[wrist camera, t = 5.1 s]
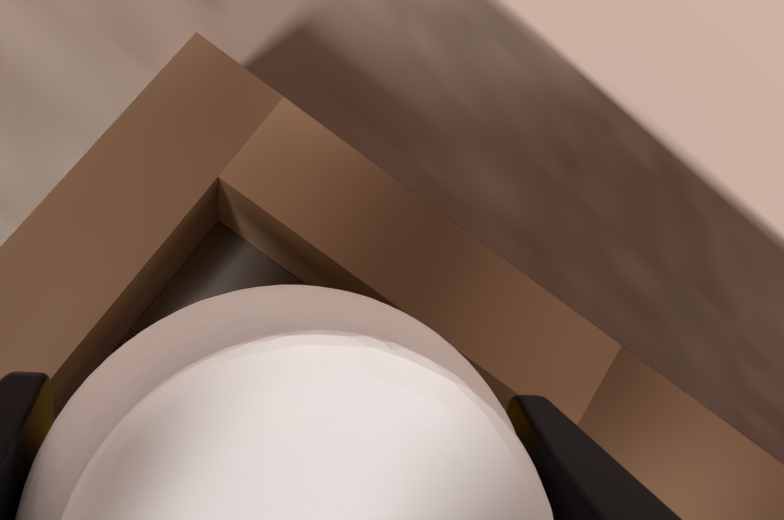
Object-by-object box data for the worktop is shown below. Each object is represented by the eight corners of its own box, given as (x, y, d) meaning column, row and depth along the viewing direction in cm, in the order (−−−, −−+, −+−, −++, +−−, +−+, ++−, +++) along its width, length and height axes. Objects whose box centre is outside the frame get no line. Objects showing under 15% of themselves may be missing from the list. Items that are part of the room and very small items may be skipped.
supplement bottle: (109, 361, 15) (-92, 240, 5) (376, 338, 16) (604, 209, 7) (117, 658, 14) (-112, 1177, 4) (403, 608, 15) (723, 921, 6)
